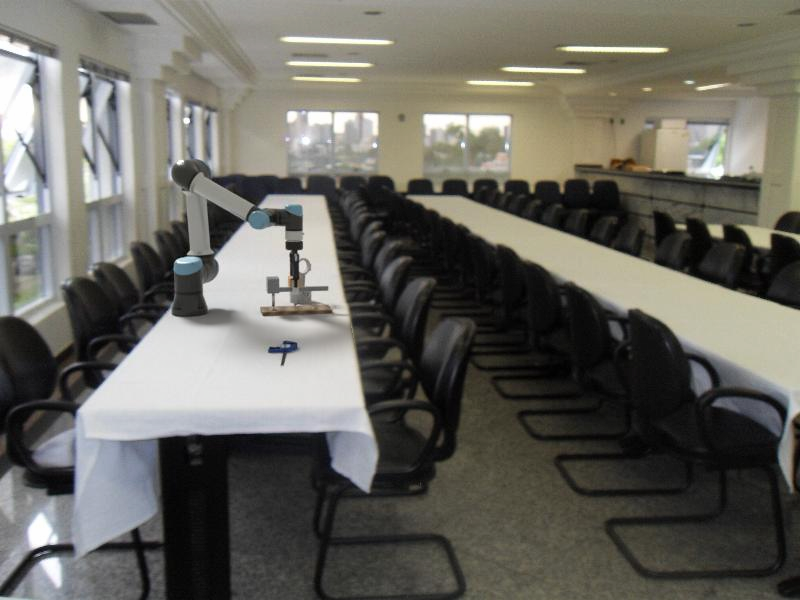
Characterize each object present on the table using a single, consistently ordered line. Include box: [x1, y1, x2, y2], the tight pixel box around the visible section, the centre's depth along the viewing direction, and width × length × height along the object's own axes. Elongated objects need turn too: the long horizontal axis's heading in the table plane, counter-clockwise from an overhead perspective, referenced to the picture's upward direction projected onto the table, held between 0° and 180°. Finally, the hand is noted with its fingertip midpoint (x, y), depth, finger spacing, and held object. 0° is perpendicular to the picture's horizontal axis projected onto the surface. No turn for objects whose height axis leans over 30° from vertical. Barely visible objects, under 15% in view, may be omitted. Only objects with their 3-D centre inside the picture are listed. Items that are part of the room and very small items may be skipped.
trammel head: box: [287, 275, 301, 308], centre depth 346 cm, size 5×7×13 cm
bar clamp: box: [267, 340, 298, 367], centre depth 272 cm, size 32×2×10 cm
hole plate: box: [260, 304, 333, 317], centre depth 348 cm, size 30×12×2 cm, turn 104°
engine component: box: [289, 257, 312, 305], centre depth 369 cm, size 11×20×10 cm
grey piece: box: [265, 275, 329, 310], centre depth 346 cm, size 26×7×14 cm, turn 104°
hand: (294, 293), depth 346 cm, fingers closed on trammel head, 7 cm apart
